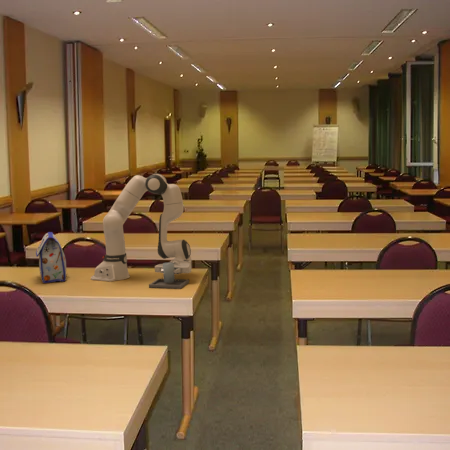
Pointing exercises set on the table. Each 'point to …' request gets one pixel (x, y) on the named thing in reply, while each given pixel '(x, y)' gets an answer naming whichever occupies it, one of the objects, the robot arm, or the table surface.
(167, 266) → the grey upright cylinder
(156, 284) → the tray
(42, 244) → the lunch bag
